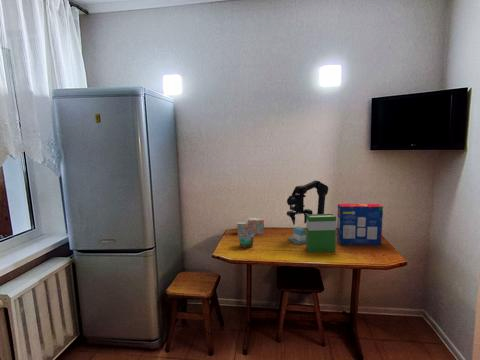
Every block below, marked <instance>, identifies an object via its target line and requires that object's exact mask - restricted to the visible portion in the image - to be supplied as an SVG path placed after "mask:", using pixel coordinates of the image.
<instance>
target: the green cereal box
mask: <svg viewBox="0 0 480 360" xmlns="http://www.w3.org/2000/svg"><path fill="white" fill-rule="evenodd" d="M305 229H306V235H305V237H306V243H305V245H306V246H305V247H306V250H307V251H308V252H309V253H323V252H325V253H327V252H330V253H332V252H336V243H337V242H336V241H337V216H335V215H333V213H324V214H317V213H316V214H315V213H313V214H307V222H306V228H305Z"/></svg>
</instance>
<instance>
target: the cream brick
mask: <svg viewBox="0 0 480 360" xmlns="http://www.w3.org/2000/svg"><path fill="white" fill-rule="evenodd" d="M293 237H294V238H295V239H297V240H298V241H304V240H305V237H306V235H303V236H299V235H297V234H294V233H293Z"/></svg>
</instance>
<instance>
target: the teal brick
mask: <svg viewBox="0 0 480 360" xmlns="http://www.w3.org/2000/svg"><path fill="white" fill-rule="evenodd" d="M292 231H293V232H292V233H293V235H294V234H297V235H299V236H303V235H305V236H306V228H303V227H301V226H296V227H293V228H292Z"/></svg>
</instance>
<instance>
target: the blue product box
mask: <svg viewBox="0 0 480 360" xmlns="http://www.w3.org/2000/svg"><path fill="white" fill-rule="evenodd" d="M383 211H384V206H383V205H381V204H379V203H337V219H336V241H337V243H338V245H339V246H340V245H343V246H344V245H345V246H376V247H377V246H378V247H379V246H380V247H381V246H382V232H383V231H382V230H383V228H382V227H383V217H384V216H383V215H384V214H383V213H384V212H383Z"/></svg>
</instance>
